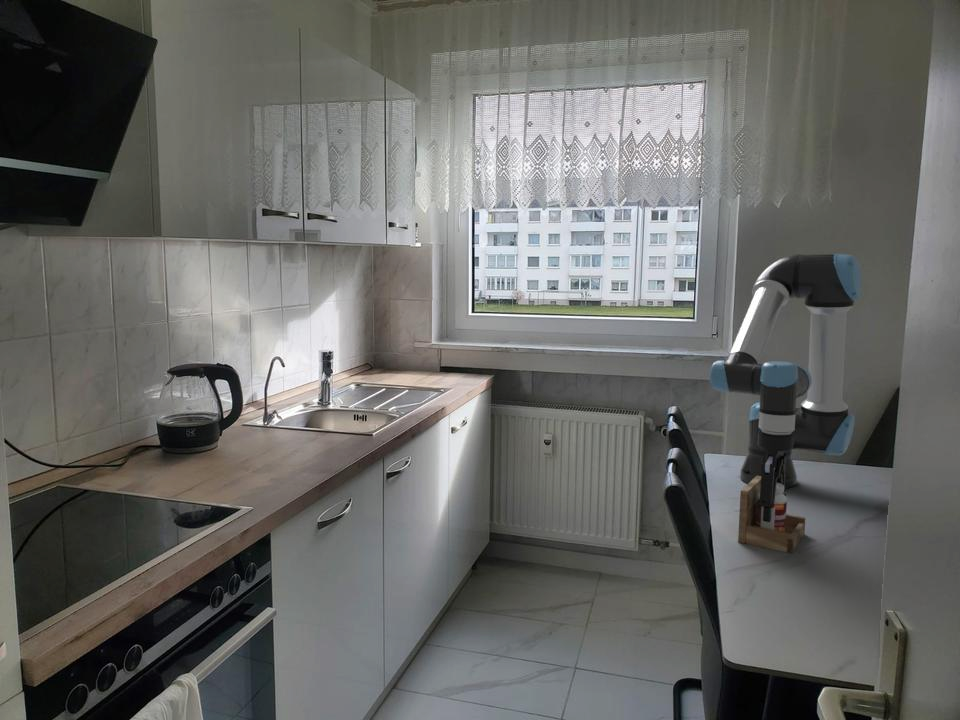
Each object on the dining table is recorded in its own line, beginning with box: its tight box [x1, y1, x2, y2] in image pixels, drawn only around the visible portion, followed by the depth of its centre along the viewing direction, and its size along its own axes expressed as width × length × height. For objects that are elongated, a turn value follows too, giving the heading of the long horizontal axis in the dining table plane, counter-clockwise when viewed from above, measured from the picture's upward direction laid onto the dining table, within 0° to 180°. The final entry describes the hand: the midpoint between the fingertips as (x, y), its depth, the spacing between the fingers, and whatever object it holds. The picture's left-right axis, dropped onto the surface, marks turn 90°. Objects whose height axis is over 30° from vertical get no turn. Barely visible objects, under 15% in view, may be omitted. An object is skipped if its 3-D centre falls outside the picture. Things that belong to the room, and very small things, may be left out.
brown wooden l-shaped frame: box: [737, 476, 806, 554], centre depth 164 cm, size 14×11×12 cm
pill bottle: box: [756, 483, 788, 532], centre depth 164 cm, size 6×6×11 cm
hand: (770, 529), depth 165 cm, fingers closed on pill bottle, 6 cm apart
